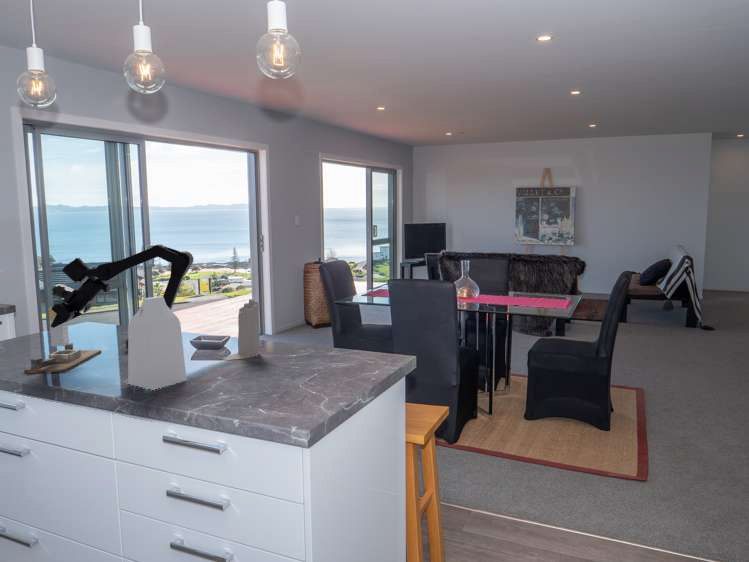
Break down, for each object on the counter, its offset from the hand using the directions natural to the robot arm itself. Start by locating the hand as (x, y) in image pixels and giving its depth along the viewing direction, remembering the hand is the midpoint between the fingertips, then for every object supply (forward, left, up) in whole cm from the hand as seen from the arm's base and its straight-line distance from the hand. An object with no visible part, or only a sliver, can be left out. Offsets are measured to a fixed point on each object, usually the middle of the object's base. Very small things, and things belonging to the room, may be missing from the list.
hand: (54, 325), depth 191 cm
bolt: (-26, -20, -14) cm, 35 cm away
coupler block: (-1, 0, -7) cm, 7 cm away
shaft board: (-2, -3, -13) cm, 14 cm away
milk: (-36, +30, -14) cm, 49 cm away
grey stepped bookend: (-61, +4, -14) cm, 62 cm away
